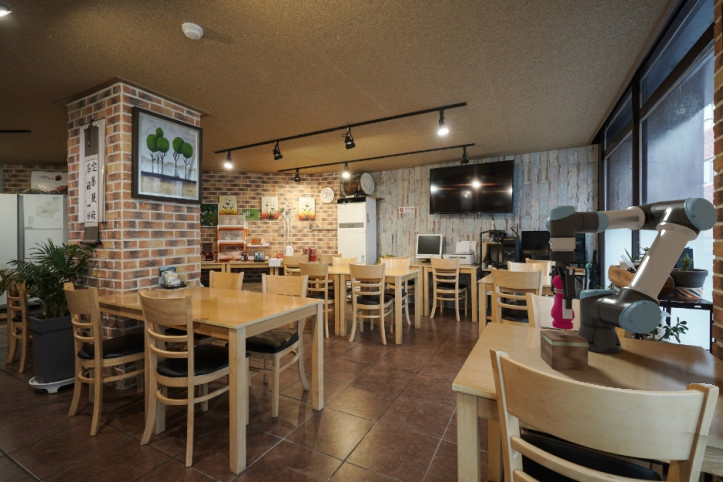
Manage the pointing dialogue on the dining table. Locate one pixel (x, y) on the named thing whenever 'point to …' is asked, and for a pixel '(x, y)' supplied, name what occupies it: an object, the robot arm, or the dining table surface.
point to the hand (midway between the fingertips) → (562, 315)
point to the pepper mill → (560, 307)
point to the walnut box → (564, 350)
